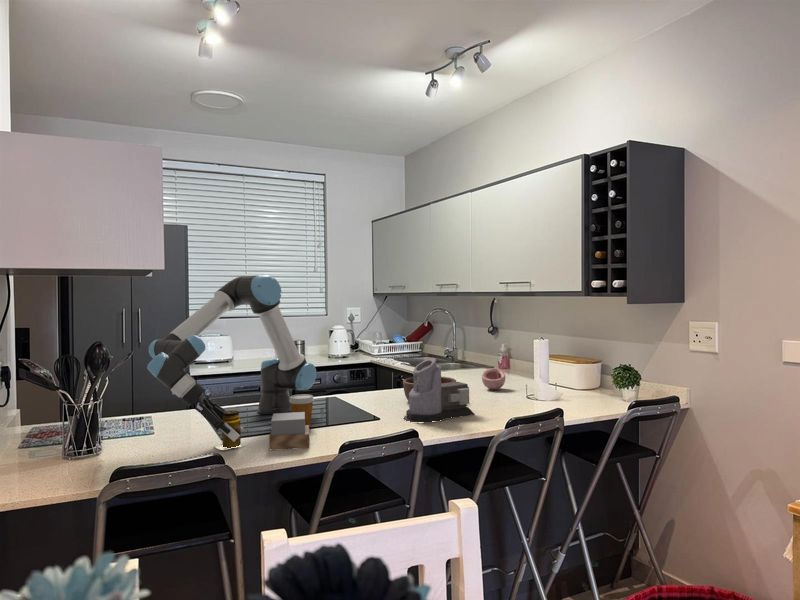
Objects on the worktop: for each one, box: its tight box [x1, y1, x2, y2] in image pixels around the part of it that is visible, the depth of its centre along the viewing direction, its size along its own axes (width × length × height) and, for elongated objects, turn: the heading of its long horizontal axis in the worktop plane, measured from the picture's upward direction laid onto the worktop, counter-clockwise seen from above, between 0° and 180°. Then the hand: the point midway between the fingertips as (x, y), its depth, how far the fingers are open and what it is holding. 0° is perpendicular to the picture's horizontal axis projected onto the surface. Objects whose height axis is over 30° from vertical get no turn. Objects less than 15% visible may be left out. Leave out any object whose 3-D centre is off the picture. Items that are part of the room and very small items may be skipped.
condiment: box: [221, 410, 242, 448], centre depth 188 cm, size 7×8×12 cm
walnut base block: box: [268, 425, 310, 450], centre depth 190 cm, size 13×13×5 cm
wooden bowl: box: [402, 375, 457, 402], centre depth 258 cm, size 25×25×10 cm
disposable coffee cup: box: [289, 393, 315, 428], centre depth 213 cm, size 10×10×12 cm
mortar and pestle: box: [481, 367, 506, 391], centre depth 286 cm, size 12×12×11 cm
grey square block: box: [270, 412, 305, 436], centre depth 190 cm, size 11×11×5 cm
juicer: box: [402, 357, 476, 423], centre depth 228 cm, size 30×16×24 cm, turn 119°
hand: (238, 435), depth 188 cm, fingers open, 8 cm apart
